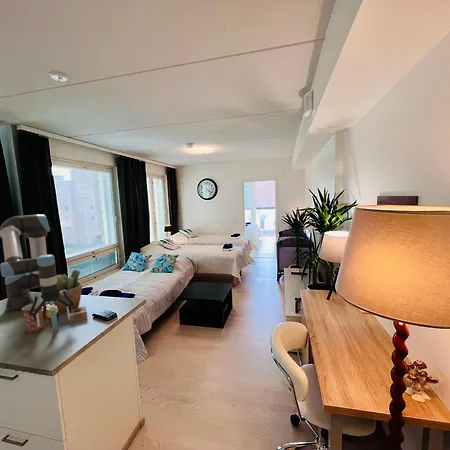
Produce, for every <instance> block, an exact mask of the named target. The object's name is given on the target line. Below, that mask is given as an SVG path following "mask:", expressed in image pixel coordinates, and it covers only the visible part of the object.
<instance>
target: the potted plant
mask: <svg viewBox="0 0 450 450" xmlns="http://www.w3.org/2000/svg"><path fill="white" fill-rule="evenodd" d="M80 273H81V270H78V269H74V270H72V272H71V275H70V276H69V277H68V275H66V274H65V273H63V274H58V275H57V283H58V289H59V291H63V290H64V289H65V290H66V293H67V294H68V296H69V297H70V298H71V299H72V300H73V301H74V305H73V306H71V310H72V309H76V308H80V302H81V296H82V291H83V283H82V282H81V281H78V280H79V276H80ZM59 297H61V298H62V299H64V300H65V301H67V302H68V303H70V302H69V301H68V300H67V299H66V297H65V296H64V295H62V294H60V295H59ZM52 303H53V305H54V307H55V306H57V308H58V310H57V312H58V313H59V314H68V313H67V306H66V305H64V304H63V303H61V302H60V301H58V300H55V301H52Z"/></svg>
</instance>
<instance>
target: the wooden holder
mask: <svg viewBox="0 0 450 450" xmlns="http://www.w3.org/2000/svg"><path fill="white" fill-rule="evenodd" d="M69 314H70V319H69V320H68V322H69V323H68V324H69V325H72V324H76V323H80V322H85V321H87V320H88V314H87V307H86V305H85V306H79V307H78V308H76V309H72V310H71V313H69Z"/></svg>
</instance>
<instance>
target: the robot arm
mask: <svg viewBox="0 0 450 450" xmlns="http://www.w3.org/2000/svg"><path fill="white" fill-rule="evenodd" d="M48 232H51V228H50V224H49V221H48V219H47V216H46V215H45V214H39V213H38V214H27V215H14V216H12V217H10V218H7V219H6V220H5V221H3V222H2V224H1V226H0V238H1V239H2V247H3V248H2V249H3V255H4V262H1V263H0V272H1V273H0V274H1V276H2V277H3V278H4V285H5V289H6V296H7V300H6V302H5V310H6V311H7V312H15V311H22V308H23V307H25V306H27V305H29V304H33V305H32V307H31V310H30V312H29V315H33V316H34V321H37V325H38V327H40V321H39V314H38V311H39V310H40V309H41V307H42V308H43V305H44V304H45V305H46V303H50V302H53V301H55V300H58V301H60V302H61V303H63V304H64V305H66V306H67V313H66V314H67V319H68V321H69V319H70V314H69V313H71V306H73V305H74V301H73V300H72V299H71V298H70V297H69V296H68V294H67V293H66V290H65V289H64V290H63V291H59V289H58V283H57V276H58V275H57V271H56V270H57V269H56V260H55V256H54V255H53V254H48V253H47V242H46V236H47V235H48V234H49V233H48ZM21 235H25V237H26V238H28V240H29V247H30V257H31V258H25V259H24V257H23V252H22V246H21V240H20V236H21ZM36 288H37V289H38V288H40V292H41V294H39V295H37V294H36V295H34V298H33V297H32V295H31V293H30V290H32V289H36ZM60 294H62V295H64V296H65V297H66V299H67V300H68V301H69V302H70V303H68V302H67V301H65V300H64V299H62V298H61V297H59V295H60ZM40 299H42V301H41V302H40V303H41V304H40V305H39V306H38V308H37V309H36V310H35V311H34V312H33V310H34V308H35V305H36V303H38V301H39V300H40Z"/></svg>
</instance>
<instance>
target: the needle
mask: <svg viewBox="0 0 450 450" xmlns="http://www.w3.org/2000/svg"><path fill="white" fill-rule="evenodd" d="M56 310H57V309H56V307H55V306H50V307H49V312H50V319H51V321H50V322H51V326H52V327H51V328H52V333H53V334H57V333H59V327H58V326H59V325H58V319H57V312H56Z"/></svg>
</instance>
